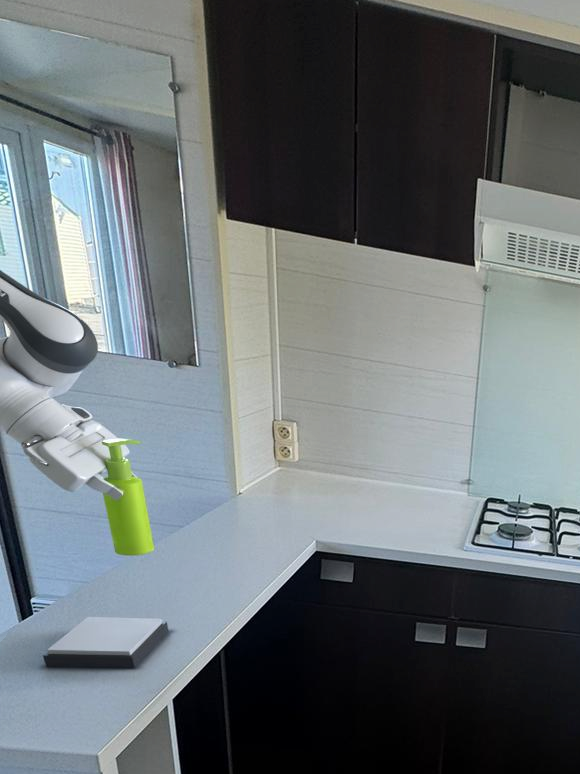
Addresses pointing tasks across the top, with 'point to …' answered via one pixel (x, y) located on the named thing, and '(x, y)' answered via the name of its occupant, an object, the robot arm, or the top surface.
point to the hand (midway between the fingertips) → (129, 490)
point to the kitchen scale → (107, 643)
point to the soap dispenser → (126, 504)
